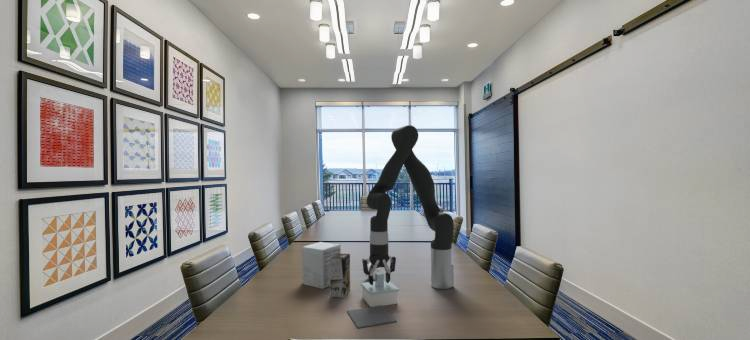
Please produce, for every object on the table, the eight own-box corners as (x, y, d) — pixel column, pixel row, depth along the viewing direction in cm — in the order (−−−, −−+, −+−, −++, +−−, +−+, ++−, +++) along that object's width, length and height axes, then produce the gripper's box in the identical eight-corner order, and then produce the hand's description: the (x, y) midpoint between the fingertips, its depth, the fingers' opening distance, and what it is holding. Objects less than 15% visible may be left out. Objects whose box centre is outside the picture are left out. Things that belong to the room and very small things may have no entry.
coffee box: (344, 298, 135) (344, 258, 136) (329, 296, 137) (329, 258, 137) (350, 290, 144) (350, 253, 145) (336, 289, 146) (336, 252, 146)
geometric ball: (369, 286, 158) (359, 273, 156) (373, 275, 165) (363, 263, 163) (382, 280, 155) (372, 267, 153) (385, 269, 162) (375, 257, 161)
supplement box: (341, 281, 157) (341, 244, 157) (323, 289, 146) (323, 249, 146) (320, 276, 164) (320, 241, 164) (301, 284, 153) (301, 246, 153)
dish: (387, 293, 140) (387, 282, 140) (397, 303, 129) (397, 290, 129) (362, 297, 136) (362, 285, 136) (370, 307, 126) (370, 294, 126)
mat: (382, 306, 127) (382, 305, 127) (396, 321, 113) (396, 320, 113) (347, 311, 122) (347, 310, 122) (357, 328, 109) (357, 327, 109)
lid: (387, 281, 140) (387, 267, 140) (399, 291, 129) (398, 276, 129) (360, 284, 136) (360, 270, 136) (370, 295, 125) (369, 279, 125)
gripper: (392, 238, 139) (392, 278, 139) (359, 241, 134) (359, 282, 134) (399, 242, 132) (399, 284, 131) (364, 245, 127) (365, 288, 127)
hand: (379, 283), depth 133 cm, fingers open, 6 cm apart
